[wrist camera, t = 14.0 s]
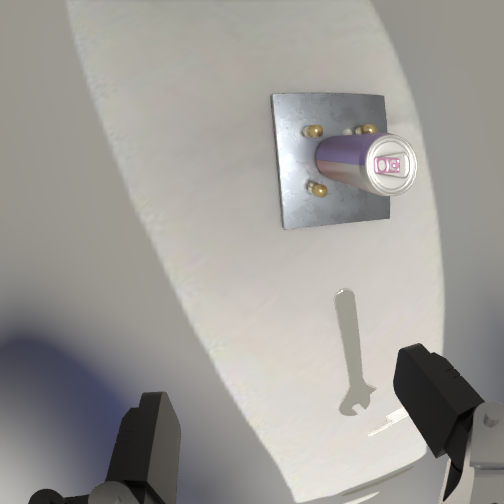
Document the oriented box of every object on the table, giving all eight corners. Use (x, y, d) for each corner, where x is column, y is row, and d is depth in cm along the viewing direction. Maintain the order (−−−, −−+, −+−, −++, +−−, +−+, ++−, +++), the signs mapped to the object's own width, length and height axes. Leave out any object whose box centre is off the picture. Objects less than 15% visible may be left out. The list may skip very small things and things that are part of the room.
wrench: (340, 418, 58) (341, 420, 57) (315, 296, 47) (317, 299, 46) (375, 404, 58) (377, 406, 57) (364, 279, 47) (366, 281, 46)
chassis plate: (270, 96, 37) (277, 89, 32) (379, 96, 38) (396, 92, 33) (282, 227, 43) (290, 236, 38) (385, 216, 44) (401, 224, 39)
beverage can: (313, 136, 38) (362, 131, 24) (354, 136, 38) (417, 134, 24) (315, 181, 40) (365, 199, 26) (356, 179, 40) (418, 196, 26)
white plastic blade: (364, 425, 60) (365, 428, 59) (419, 393, 59) (421, 396, 58) (368, 434, 62) (370, 437, 61) (421, 404, 61) (423, 407, 60)
